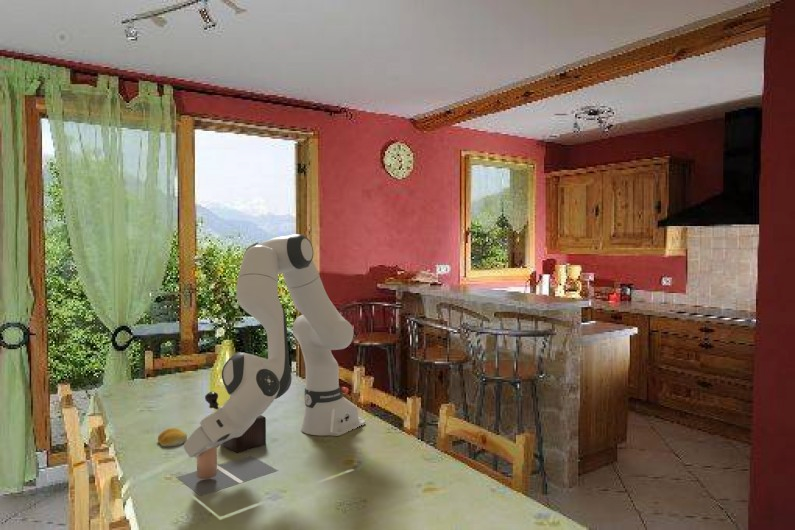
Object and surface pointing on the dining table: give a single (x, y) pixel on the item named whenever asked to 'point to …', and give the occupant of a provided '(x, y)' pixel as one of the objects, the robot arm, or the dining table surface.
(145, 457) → the dining table surface
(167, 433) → the bread roll
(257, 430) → the manual coffee grinder
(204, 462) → the terracotta jar
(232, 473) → the throwing lane
